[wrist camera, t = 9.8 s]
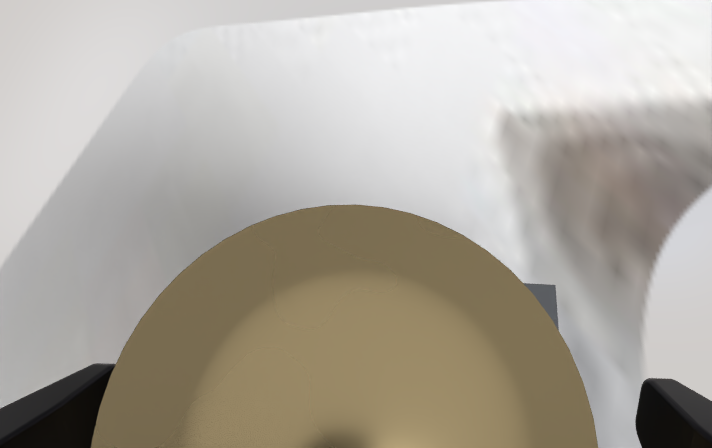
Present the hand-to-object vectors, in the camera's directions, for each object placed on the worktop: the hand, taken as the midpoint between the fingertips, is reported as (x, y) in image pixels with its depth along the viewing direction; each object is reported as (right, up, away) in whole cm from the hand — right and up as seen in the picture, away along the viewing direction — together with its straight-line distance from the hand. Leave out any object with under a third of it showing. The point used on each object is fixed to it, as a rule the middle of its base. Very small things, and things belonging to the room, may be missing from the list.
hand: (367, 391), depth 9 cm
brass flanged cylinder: (+1, -4, +7) cm, 9 cm away
